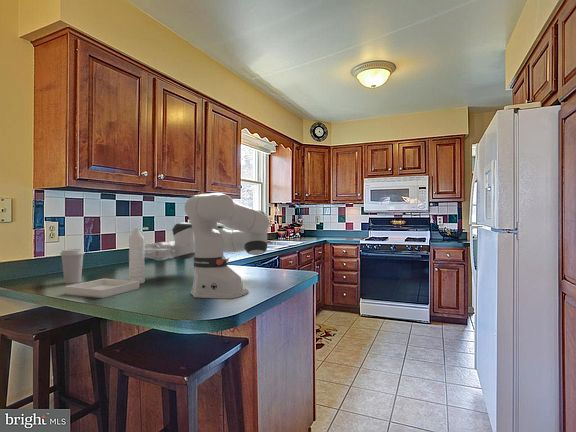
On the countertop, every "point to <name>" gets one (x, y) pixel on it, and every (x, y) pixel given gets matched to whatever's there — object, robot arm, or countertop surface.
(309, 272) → the countertop surface
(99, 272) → the countertop surface
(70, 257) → the coffee cup
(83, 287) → the tray
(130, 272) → the water bottle
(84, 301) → the countertop surface
